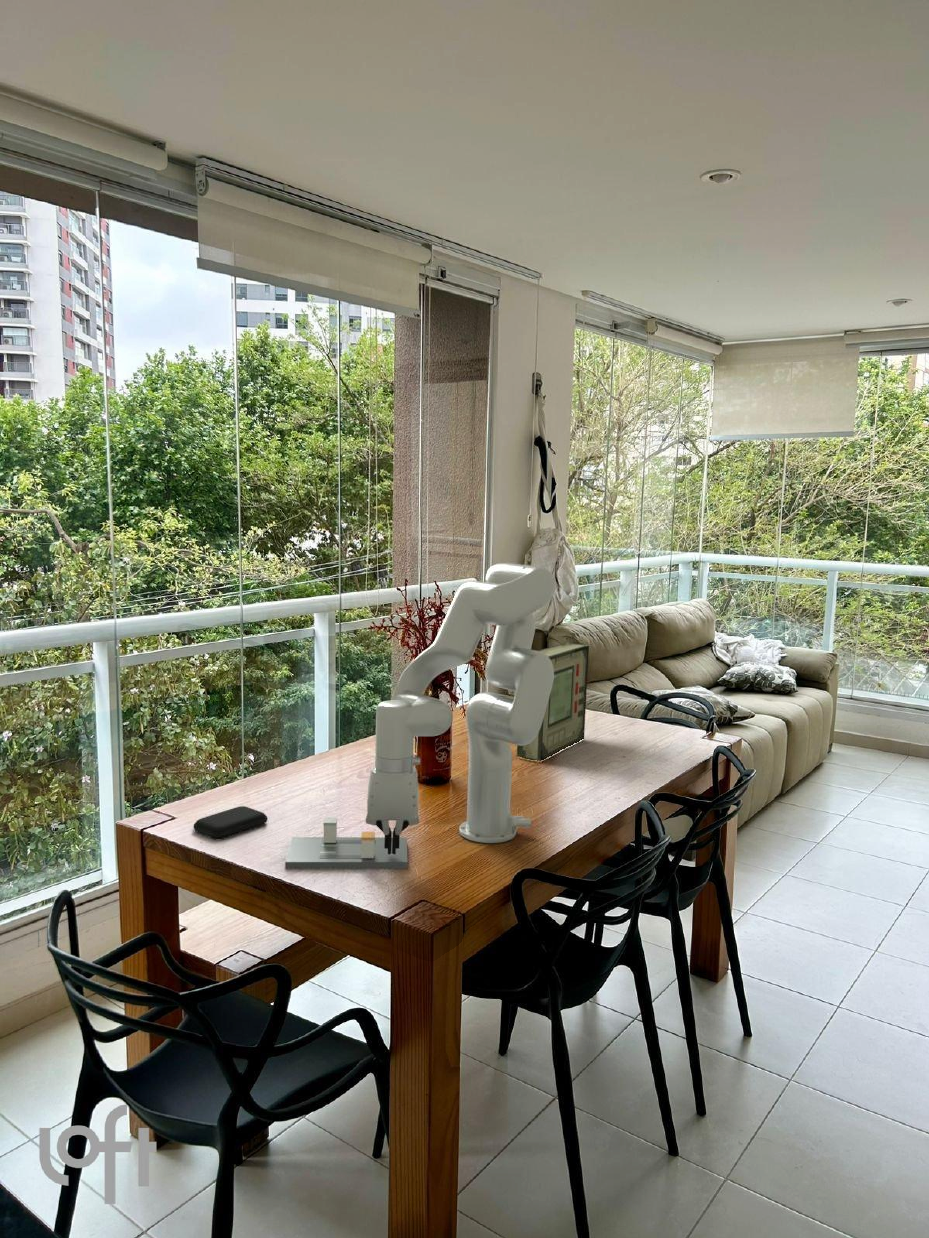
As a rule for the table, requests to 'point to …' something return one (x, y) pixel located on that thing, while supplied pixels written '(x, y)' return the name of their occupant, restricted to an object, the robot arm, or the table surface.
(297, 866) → the grey slotted panel
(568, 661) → the control panel
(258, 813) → the carrying case or bag
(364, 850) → the block
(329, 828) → the breaker
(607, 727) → the table surface
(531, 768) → the table surface
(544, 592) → the robot arm
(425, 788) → the table surface
